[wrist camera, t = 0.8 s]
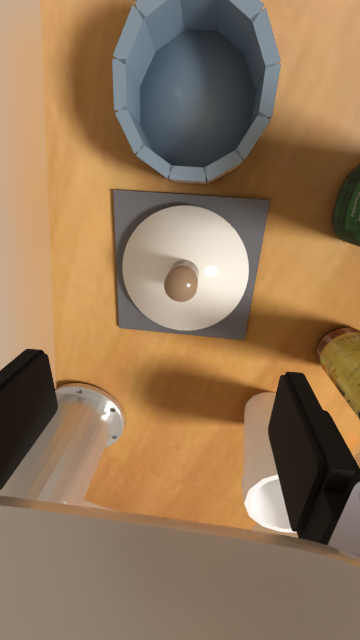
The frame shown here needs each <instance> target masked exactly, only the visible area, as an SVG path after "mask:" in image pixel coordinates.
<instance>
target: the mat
mask: <svg viewBox="0 0 360 640" xmlns="http://www.w3.org/2000/svg"><path fill="white" fill-rule="evenodd" d="M113 196H114V220H115V244H116V268H117V292H118V316H119V328H125V329H135V330H146V331H156V332H166V333H176V334H187V335H197V336H207V337H218V338H228V339H238V340H245V334H246V329H247V323H248V318H249V312H250V307H251V301H252V296H253V290H254V285H255V280H256V274H257V269H258V263H259V258H260V252H261V247H262V241H263V236H264V230H265V225H266V219H267V214H268V208H269V203H270V200H265V199H249V198H234V197H218V196H202V195H187V194H171V193H156V192H140V191H124V190H113ZM180 205H190V206H197V207H201V208H205V209H208V210H210V211H212V212H214V213H216V214H218V215H219V216H221V217H222V218H224V219H225V220H226V221H227V222H228V223H229V224H230V225H231V226H232V227H233V228H234V229H235V230H236V232H237V233H238V235H239V236H240V238H241V240H242V242H243V244H244V246H245V249H246V252H247V257H248V262H249V275H248V282H247V286H246V289H245V292H244V294H243V296H242V298H241V300H240V302H239V303H238V304H237V306H236V307H235V309H234V310H233V311H232V312H231V313H230V314H229V315H227V316H226V317H225V318H224V319H222V320H221V321H219V322H218V323H216V324H214V325H211V326H209V327H206V328H203V329H198V330H190V331H185V330H175V329H171V328H167V327H164V326H162V325H159V324H157V323H156V322H154V321H152V320H151V319H149V318H148V317H146V316H145V315H144V314H143V313H142V312H141V311H140V310H139V309H138V308H137V307H136V305H135V304H134V303H133V301H132V300H131V298H130V296H129V294H128V292H127V289H126V286H125V283H124V279H123V270H122V265H123V256H124V251H125V248H126V245H127V243H128V241H129V238H130V237H131V235H132V234H133V232H134V230H135V229H136V228H137V227H138V226H139V225H140V224H141V223H142V222H143V221H144V220H145V219H146V218H148V217H149V216H151V215H152V214H154V213H156V212H158V211H160V210H163V209H166V208H169V207H174V206H180Z"/></svg>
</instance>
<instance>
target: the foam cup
mask: <svg viewBox="0 0 360 640" xmlns="http://www.w3.org/2000/svg"><path fill="white" fill-rule="evenodd" d="M275 396H276V393H274V392H262V393H260V394H257V395H255V396H252V397H251V398H250V400H249V401H248V402H247V403H246V406H245V410H244V411H245V412H244V475H243V478H242V488H243V497H244V504H245V506H246V509H247V511H248V514H249V516H250V517H251V518H252V519H254V520H255V521H256V522H258V523H259V524H260V525H262V526H264V527H267V528H270V529H273V530H277V531H280V532H293V531H292V529H291V527H290V523H289V519H288V515H287V511H286V506H285V502H284V498H283V494H282V490H281V486H280V482H279V478H278V473H277V469H276V465H275V461H274V457H273V453H272V449H271V445H270V441H269V436H268V425H269V421H270V417H271V413H272V409H273V404H274V400H275ZM296 533H297V532H296Z"/></svg>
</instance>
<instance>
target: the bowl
mask: <svg viewBox="0 0 360 640" xmlns="http://www.w3.org/2000/svg"><path fill="white" fill-rule="evenodd" d="M135 4H136V7H137V8H136V7H134V6H133V5H132V8H131V10H130V13H129V15H128V18H127V20H126V23H125V25H124V28H123V30H122V33H121V35H120V38H119V41H118V43H117V46H116V48H115V51H114V53H113V56H114V58H115V59H112V70H113V97H114V111H115V112H116V113H115V115H116V117H117V119H118V121H119V123H120V125H121V127H122V129H123V131H124V133H125V135H126V138H127V140H128V142H129V144H130V146H131V148H132V150H133V152H134V154H136V156H137V157H138V158H140V159H141V160H142V161H144V162H145V163H147V164H148V165H149V166H151V167H152V168H153V169H155V170H156V171H157V172H159V173H160V174H162V175H163V176H164V177H166V178H167V179H169V180H171V181H173V182H176V183H188V184H206V183H208V184H209V183H210V182H212V181H214V180H216V179H218V178H220V177H222V176H224V175H225V174H227V173H228V172H230V171H232V170H234V169H236V168H237V167H238V166H239V165H240V164H241V163H242V162H243V161H244V160H245V159H246V157H247V156H248V154H249V153H250V151H251V150H252V148H253V147H254V145H255V144H256V142H257V141H258V139H259V137H260V136H261V134H262V133H263V131H264V130H265V128H266V127H267V125H268V124H269V122H270V121H271V120H270V119H271V118H272V114H273V108H274V102H275V96H276V90H277V84H278V78H279V72H280V66H281V64H279V63H280V61H281V60H280V56H279V53H278V49H277V46H276V42H275V38H274V35H273V31H272V28H271V24H270V20H269V17H268V13H267V10H266V8H265V9H263V7H264V4H263V3H262V2H261V1H260V0H137V1H135Z"/></svg>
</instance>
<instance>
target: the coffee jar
mask: <svg viewBox="0 0 360 640" xmlns="http://www.w3.org/2000/svg"><path fill="white" fill-rule="evenodd" d="M332 224H333V229H334V232H335V234H336V235H337V236H338V237H339V238H340V239H341V240H343V241H345V242H348V243H351V244H354V245H357V246H360V165H359V166H358V167H356V168H355V169H354V170H353V171H352V172H351V173H350V175H349V176H348V177H347V179H346V181H345V182H344V184H343V186H342V189H341V190H340V193H339V196H338V199H337V201H336V205H335V208H334V213H333V219H332Z"/></svg>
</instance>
